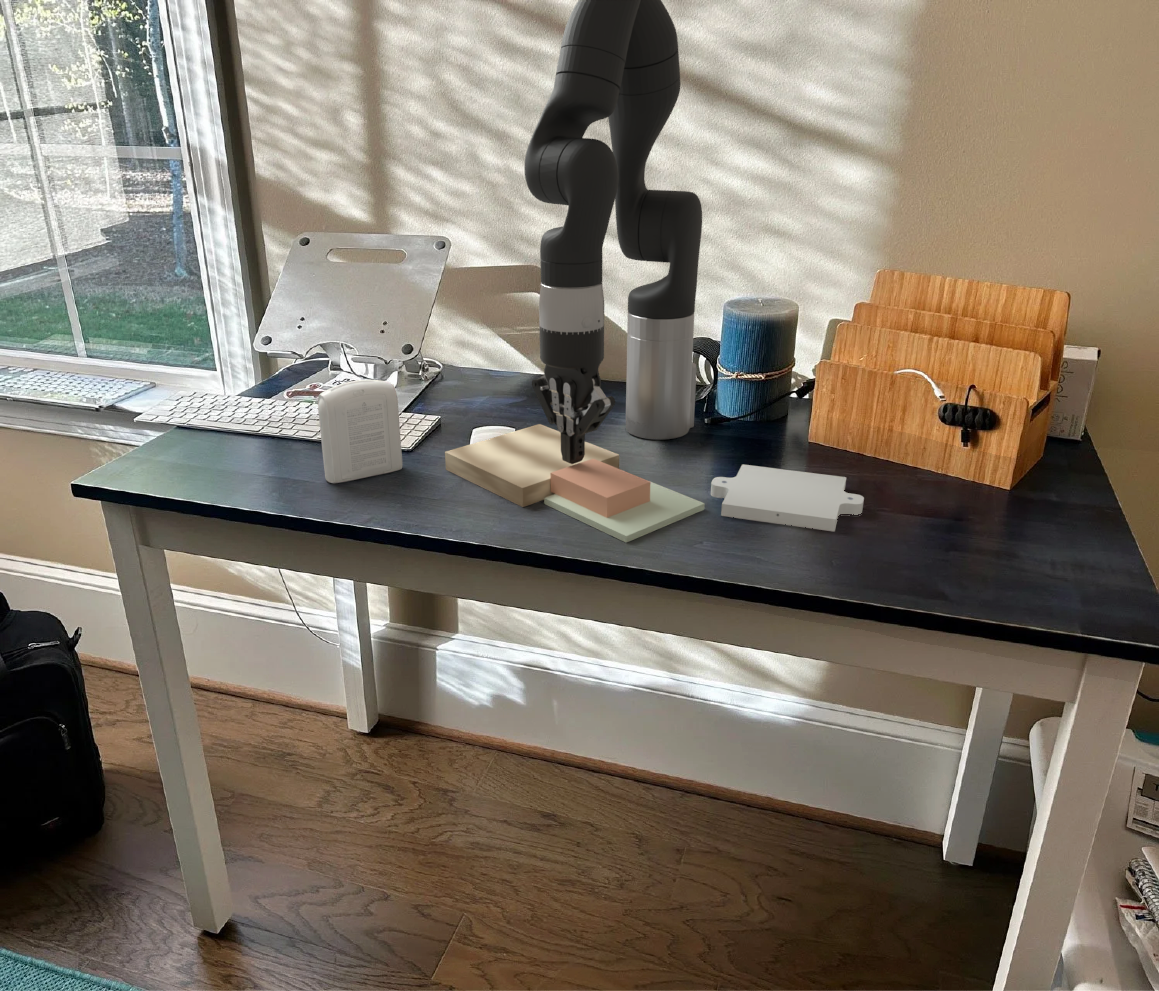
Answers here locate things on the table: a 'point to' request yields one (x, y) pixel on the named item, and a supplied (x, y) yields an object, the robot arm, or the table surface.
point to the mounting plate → (786, 497)
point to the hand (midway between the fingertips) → (572, 460)
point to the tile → (600, 487)
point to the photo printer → (359, 430)
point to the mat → (633, 513)
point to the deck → (518, 463)
